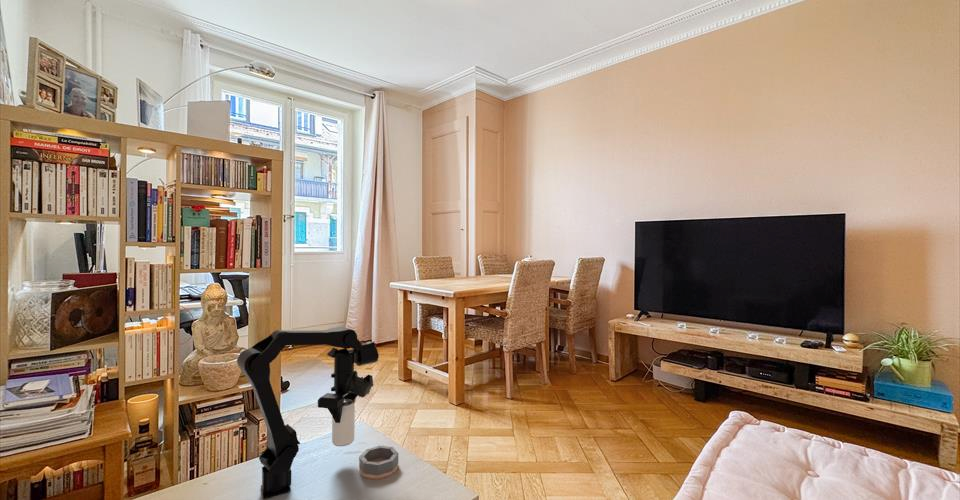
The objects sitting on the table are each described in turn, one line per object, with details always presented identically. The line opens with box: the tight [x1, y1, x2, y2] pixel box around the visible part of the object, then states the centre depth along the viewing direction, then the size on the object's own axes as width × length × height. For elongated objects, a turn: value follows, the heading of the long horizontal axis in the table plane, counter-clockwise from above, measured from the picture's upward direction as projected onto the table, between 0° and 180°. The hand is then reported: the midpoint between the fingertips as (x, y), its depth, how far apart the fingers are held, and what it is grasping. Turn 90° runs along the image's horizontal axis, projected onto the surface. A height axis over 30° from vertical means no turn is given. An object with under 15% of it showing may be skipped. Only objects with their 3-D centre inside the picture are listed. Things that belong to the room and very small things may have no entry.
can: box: [331, 399, 356, 447], centre depth 122 cm, size 6×6×12 cm
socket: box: [358, 445, 399, 480], centre depth 119 cm, size 11×11×4 cm
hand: (343, 420), depth 122 cm, fingers closed on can, 5 cm apart
